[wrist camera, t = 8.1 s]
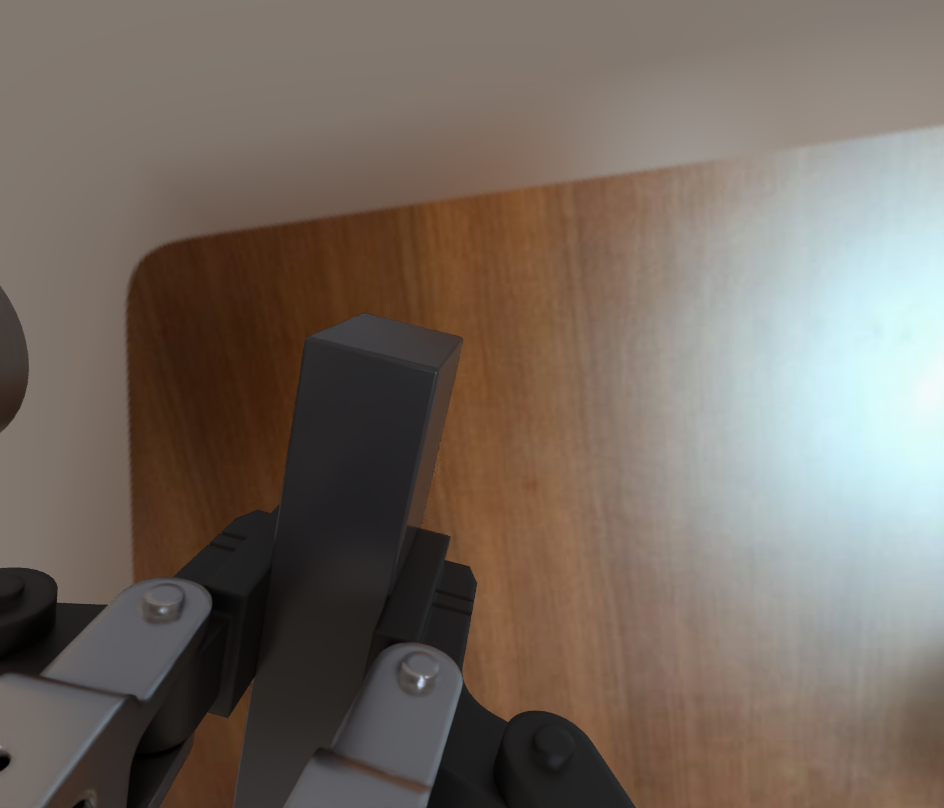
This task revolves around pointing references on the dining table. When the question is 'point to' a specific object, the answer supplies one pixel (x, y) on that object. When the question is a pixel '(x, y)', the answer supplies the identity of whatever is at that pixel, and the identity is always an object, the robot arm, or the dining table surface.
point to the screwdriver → (341, 533)
